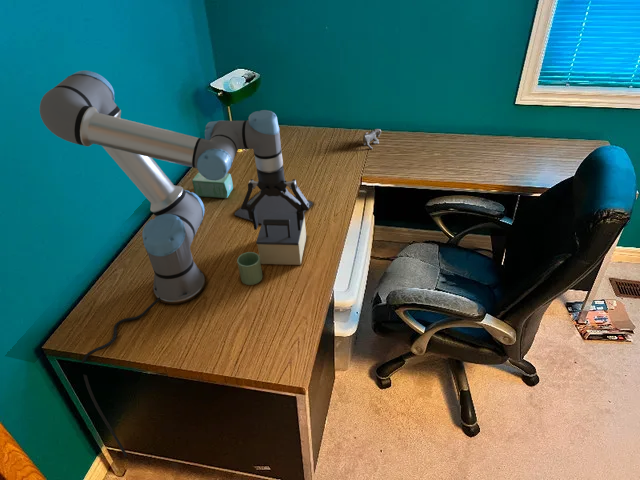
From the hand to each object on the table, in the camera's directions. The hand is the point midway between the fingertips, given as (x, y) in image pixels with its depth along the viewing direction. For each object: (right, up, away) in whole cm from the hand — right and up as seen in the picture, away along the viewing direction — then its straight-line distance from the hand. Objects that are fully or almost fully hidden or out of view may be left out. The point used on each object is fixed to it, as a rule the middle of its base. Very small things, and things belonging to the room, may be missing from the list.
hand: (278, 227), depth 148 cm
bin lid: (0, 0, +6) cm, 6 cm away
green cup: (-8, -16, +2) cm, 18 cm away
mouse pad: (-4, +8, +32) cm, 33 cm away
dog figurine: (+36, +39, +69) cm, 87 cm away
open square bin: (+1, -7, +12) cm, 14 cm away
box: (-29, +15, +43) cm, 53 cm away
